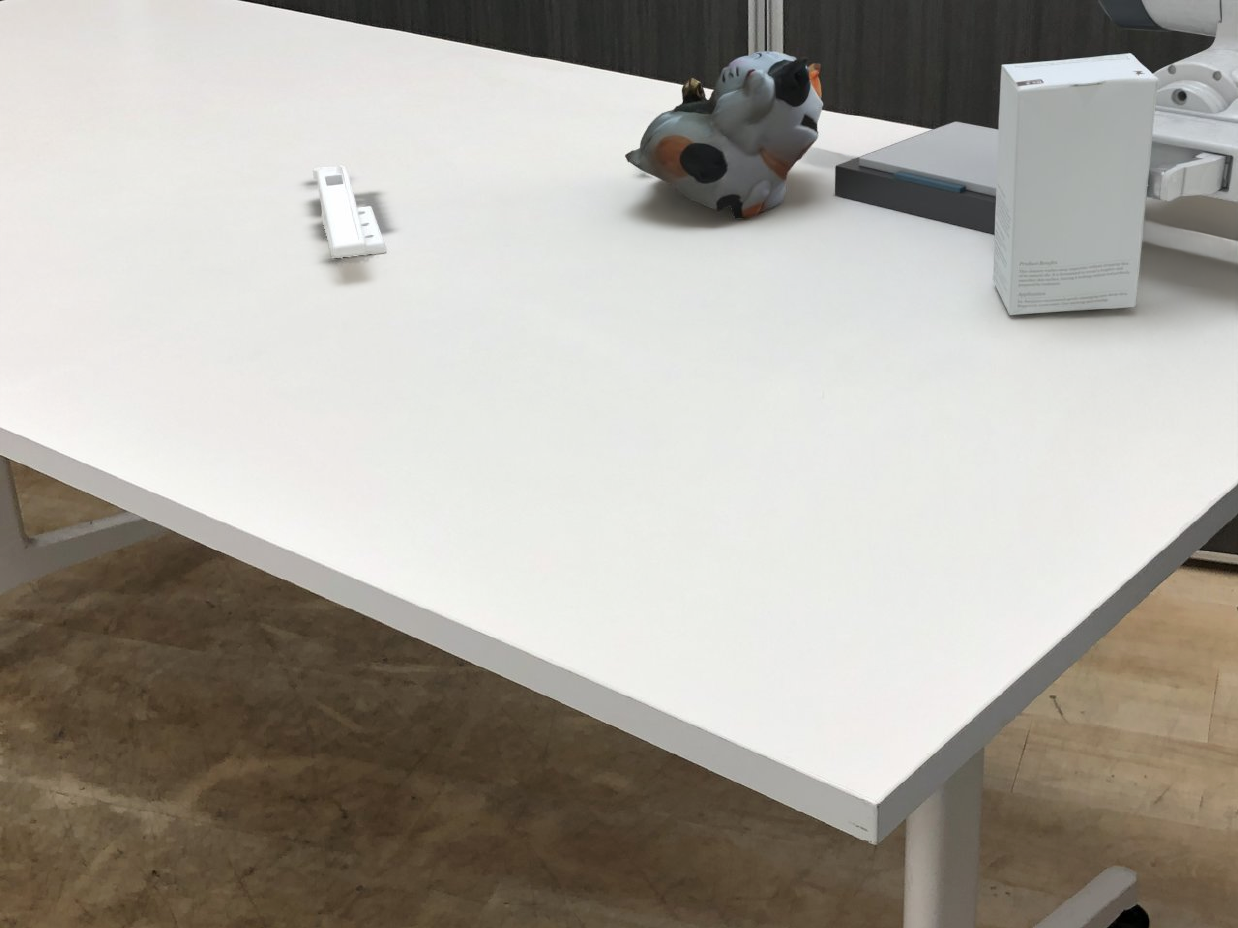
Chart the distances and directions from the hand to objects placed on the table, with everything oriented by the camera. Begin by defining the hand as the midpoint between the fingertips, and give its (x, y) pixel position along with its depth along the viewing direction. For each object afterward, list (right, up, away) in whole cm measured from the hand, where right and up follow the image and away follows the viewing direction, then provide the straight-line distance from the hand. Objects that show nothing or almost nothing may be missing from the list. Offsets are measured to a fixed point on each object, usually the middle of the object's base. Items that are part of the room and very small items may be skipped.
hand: (1091, 174), depth 89 cm
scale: (-1, +3, +24) cm, 24 cm away
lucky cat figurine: (-21, +3, +26) cm, 33 cm away
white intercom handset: (-50, -1, +22) cm, 54 cm away
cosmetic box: (-1, -7, +4) cm, 8 cm away
